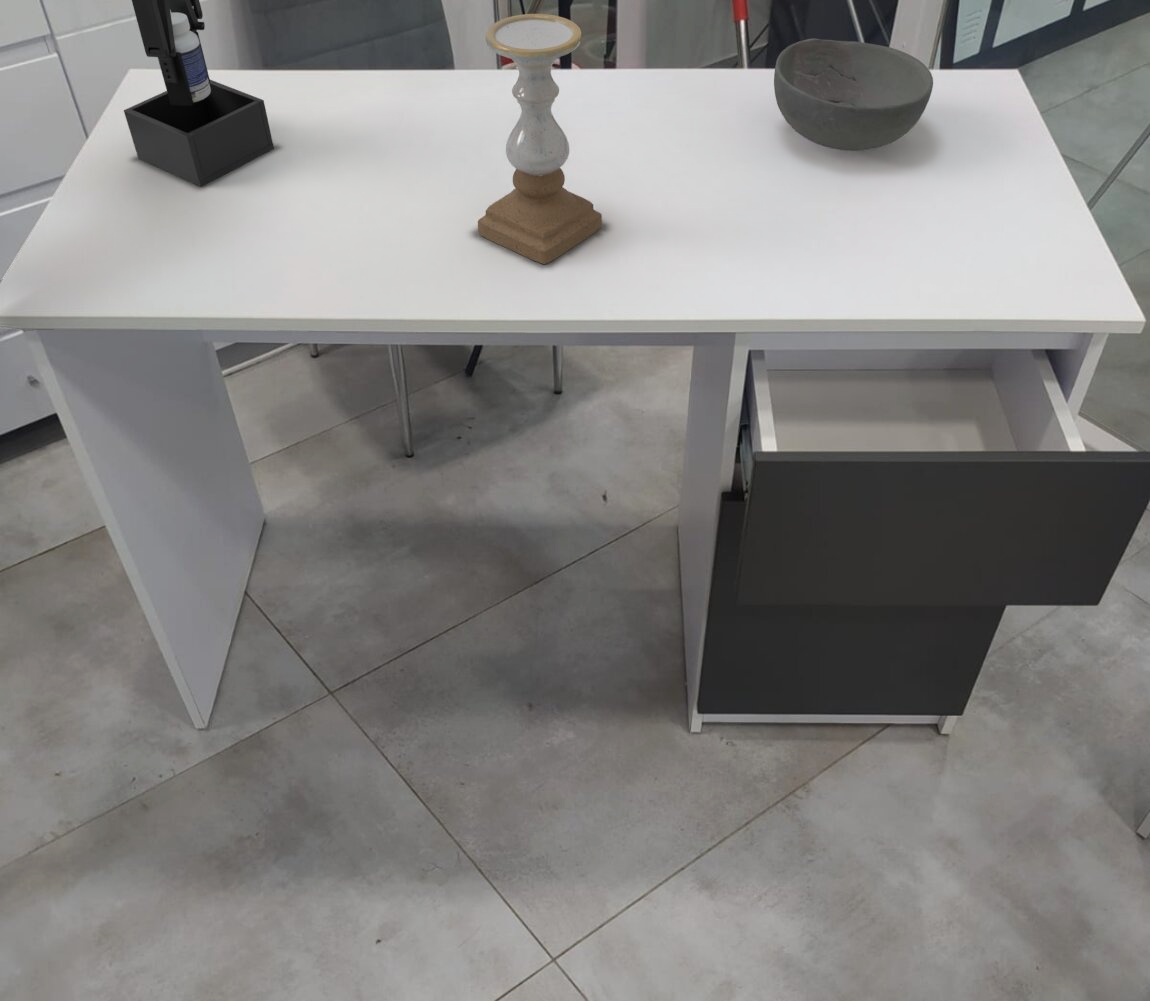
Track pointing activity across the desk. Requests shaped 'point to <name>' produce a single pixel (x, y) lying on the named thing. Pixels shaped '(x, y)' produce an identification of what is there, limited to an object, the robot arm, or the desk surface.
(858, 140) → the bowl
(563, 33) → the candle holder
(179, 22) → the pill bottle
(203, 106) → the basket
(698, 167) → the desk surface
